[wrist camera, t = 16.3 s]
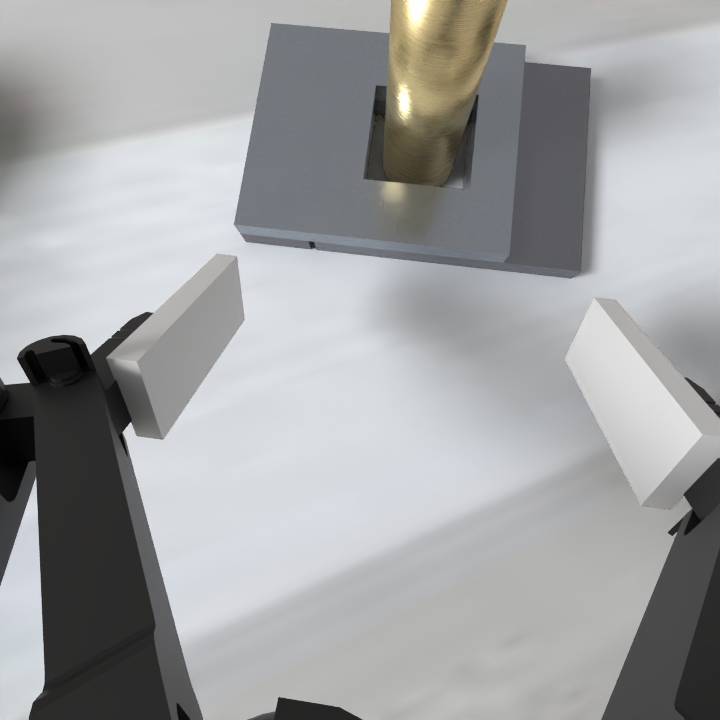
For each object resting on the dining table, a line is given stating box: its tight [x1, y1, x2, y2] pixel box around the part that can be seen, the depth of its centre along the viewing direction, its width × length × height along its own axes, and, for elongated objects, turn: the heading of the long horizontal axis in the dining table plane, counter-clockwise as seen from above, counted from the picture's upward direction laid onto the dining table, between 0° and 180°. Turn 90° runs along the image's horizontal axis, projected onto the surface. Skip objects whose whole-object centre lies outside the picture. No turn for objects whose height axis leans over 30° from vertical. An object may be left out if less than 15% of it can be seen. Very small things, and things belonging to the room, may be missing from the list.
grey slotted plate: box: [234, 23, 526, 263], centre depth 22 cm, size 14×12×2 cm
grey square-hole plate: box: [314, 62, 591, 278], centre depth 22 cm, size 14×12×1 cm
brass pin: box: [383, 0, 507, 187], centre depth 17 cm, size 4×4×11 cm
